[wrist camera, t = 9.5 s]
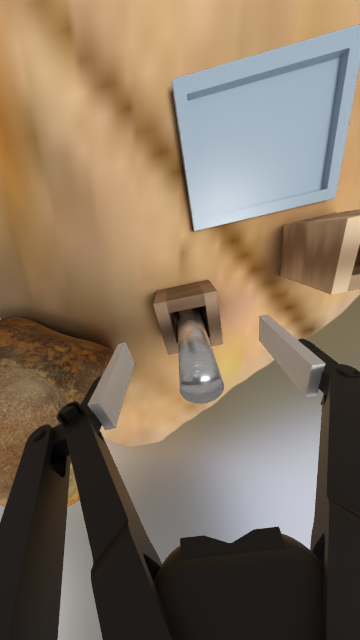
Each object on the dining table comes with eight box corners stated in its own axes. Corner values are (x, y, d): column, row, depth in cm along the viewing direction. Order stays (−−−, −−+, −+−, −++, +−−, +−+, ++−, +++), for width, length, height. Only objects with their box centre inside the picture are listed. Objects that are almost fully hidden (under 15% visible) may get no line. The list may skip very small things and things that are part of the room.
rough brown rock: (163, 369, 29) (154, 483, 16) (101, 410, 33) (53, 527, 20) (36, 261, 20) (-225, 310, 7) (-25, 336, 25) (-258, 453, 11)
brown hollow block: (157, 290, 22) (153, 304, 18) (208, 279, 22) (217, 290, 18) (169, 333, 26) (168, 354, 21) (214, 324, 25) (222, 344, 21)
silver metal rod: (174, 301, 23) (175, 376, 11) (196, 296, 23) (221, 368, 11) (179, 319, 25) (184, 406, 12) (199, 315, 24) (225, 399, 12)
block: (283, 224, 19) (347, 218, 12) (336, 212, 19) (435, 198, 12) (280, 275, 22) (331, 294, 15) (326, 265, 22) (401, 280, 15)
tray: (172, 91, 14) (172, 79, 13) (351, 39, 14) (367, 22, 12) (193, 231, 19) (194, 230, 18) (325, 200, 18) (335, 198, 17)
